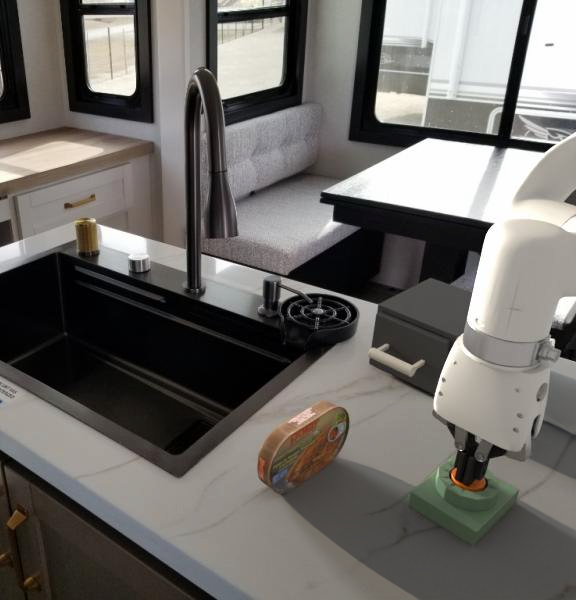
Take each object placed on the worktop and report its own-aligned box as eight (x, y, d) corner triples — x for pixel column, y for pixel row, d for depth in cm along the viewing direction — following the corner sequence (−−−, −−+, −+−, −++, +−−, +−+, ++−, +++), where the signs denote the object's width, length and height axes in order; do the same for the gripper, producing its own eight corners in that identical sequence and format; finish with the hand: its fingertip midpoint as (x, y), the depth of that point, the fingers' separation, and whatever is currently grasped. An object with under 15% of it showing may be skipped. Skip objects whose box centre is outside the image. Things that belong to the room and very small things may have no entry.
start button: (459, 473, 76) (461, 462, 76) (488, 490, 74) (491, 478, 73) (443, 487, 74) (445, 476, 74) (472, 504, 72) (475, 493, 71)
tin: (269, 506, 75) (273, 450, 72) (250, 491, 78) (253, 436, 74) (348, 451, 84) (355, 399, 80) (329, 439, 86) (335, 388, 82)
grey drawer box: (442, 399, 94) (456, 336, 89) (369, 363, 103) (378, 304, 98) (491, 364, 102) (506, 304, 97) (420, 333, 111) (430, 277, 106)
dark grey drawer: (419, 406, 91) (429, 353, 87) (352, 372, 99) (358, 322, 95) (482, 362, 101) (494, 313, 97) (416, 335, 109) (424, 288, 105)
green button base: (452, 467, 81) (458, 443, 79) (515, 503, 75) (523, 477, 74) (407, 505, 75) (413, 479, 73) (472, 546, 70) (480, 519, 68)
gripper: (597, 357, 62) (549, 498, 70) (453, 303, 72) (426, 432, 81) (564, 385, 58) (517, 532, 66) (417, 324, 68) (392, 458, 76)
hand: (467, 477), depth 73 cm, fingers closed
